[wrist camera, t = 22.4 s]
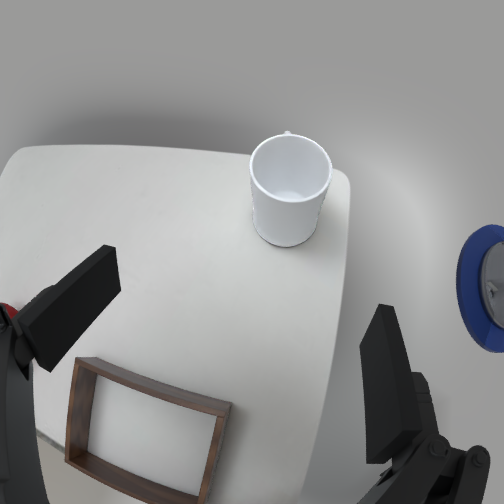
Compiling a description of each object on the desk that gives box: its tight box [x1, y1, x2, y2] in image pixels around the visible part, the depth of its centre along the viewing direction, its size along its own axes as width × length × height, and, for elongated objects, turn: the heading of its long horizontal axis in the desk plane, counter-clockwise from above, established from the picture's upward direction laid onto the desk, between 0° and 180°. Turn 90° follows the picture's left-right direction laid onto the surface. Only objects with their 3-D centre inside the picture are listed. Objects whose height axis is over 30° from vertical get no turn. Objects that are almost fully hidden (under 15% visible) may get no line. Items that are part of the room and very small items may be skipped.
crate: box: [65, 357, 231, 504], centre depth 29 cm, size 16×20×5 cm
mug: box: [249, 131, 332, 247], centre depth 33 cm, size 12×8×12 cm
